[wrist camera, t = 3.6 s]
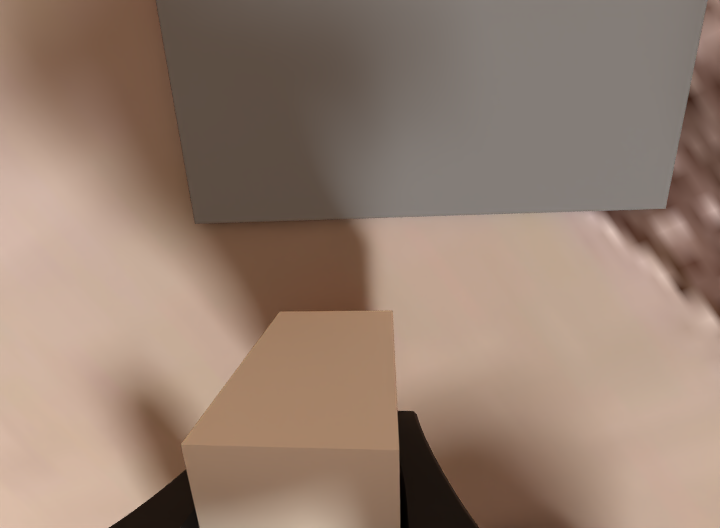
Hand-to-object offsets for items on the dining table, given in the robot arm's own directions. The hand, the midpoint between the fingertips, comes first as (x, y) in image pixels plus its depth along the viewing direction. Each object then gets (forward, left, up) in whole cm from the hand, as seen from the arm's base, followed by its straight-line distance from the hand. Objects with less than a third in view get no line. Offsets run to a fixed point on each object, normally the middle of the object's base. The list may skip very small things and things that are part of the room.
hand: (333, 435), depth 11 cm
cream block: (0, 0, -2) cm, 2 cm away
